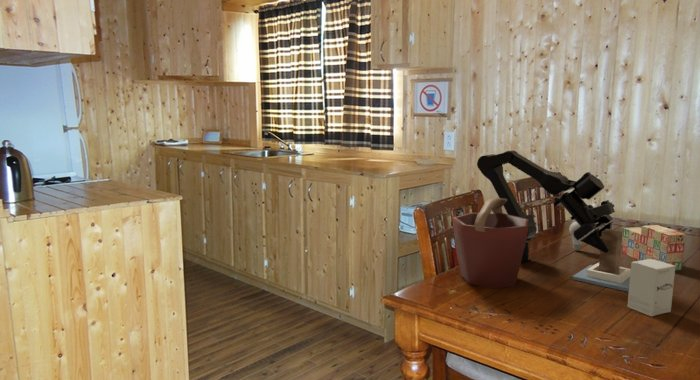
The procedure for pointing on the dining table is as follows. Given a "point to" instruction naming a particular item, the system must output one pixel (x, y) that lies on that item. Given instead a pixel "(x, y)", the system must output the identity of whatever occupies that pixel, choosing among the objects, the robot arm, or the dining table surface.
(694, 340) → the dining table surface
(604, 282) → the socket
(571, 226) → the lightbulb
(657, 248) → the stack of blocks
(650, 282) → the supplement box
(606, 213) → the robot arm
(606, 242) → the walnut pillar
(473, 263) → the bucket
